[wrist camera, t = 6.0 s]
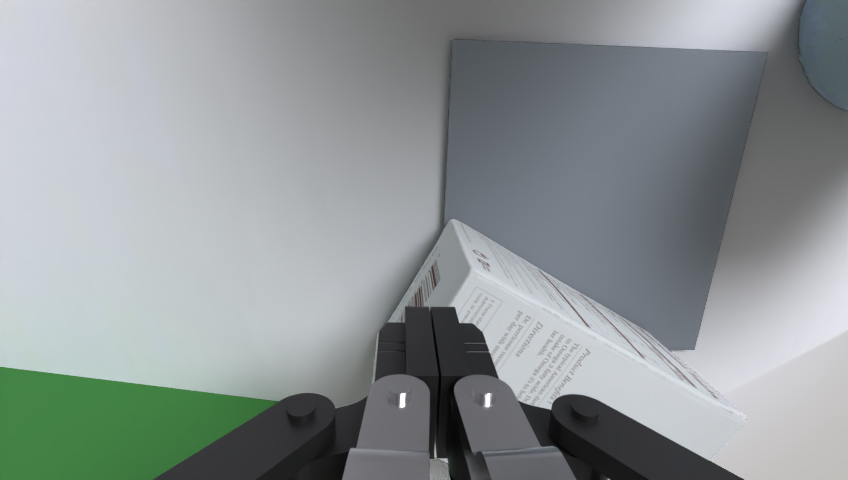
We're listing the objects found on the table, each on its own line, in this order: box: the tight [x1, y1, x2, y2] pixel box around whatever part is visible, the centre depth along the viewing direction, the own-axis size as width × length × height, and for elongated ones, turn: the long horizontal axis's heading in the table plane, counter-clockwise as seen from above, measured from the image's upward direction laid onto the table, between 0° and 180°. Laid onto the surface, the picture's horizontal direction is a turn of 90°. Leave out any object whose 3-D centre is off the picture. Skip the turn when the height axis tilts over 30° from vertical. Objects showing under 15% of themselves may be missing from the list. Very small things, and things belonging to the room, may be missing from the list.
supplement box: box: [372, 219, 747, 480], centre depth 20 cm, size 7×7×13 cm
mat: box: [443, 39, 768, 350], centre depth 22 cm, size 15×14×1 cm
